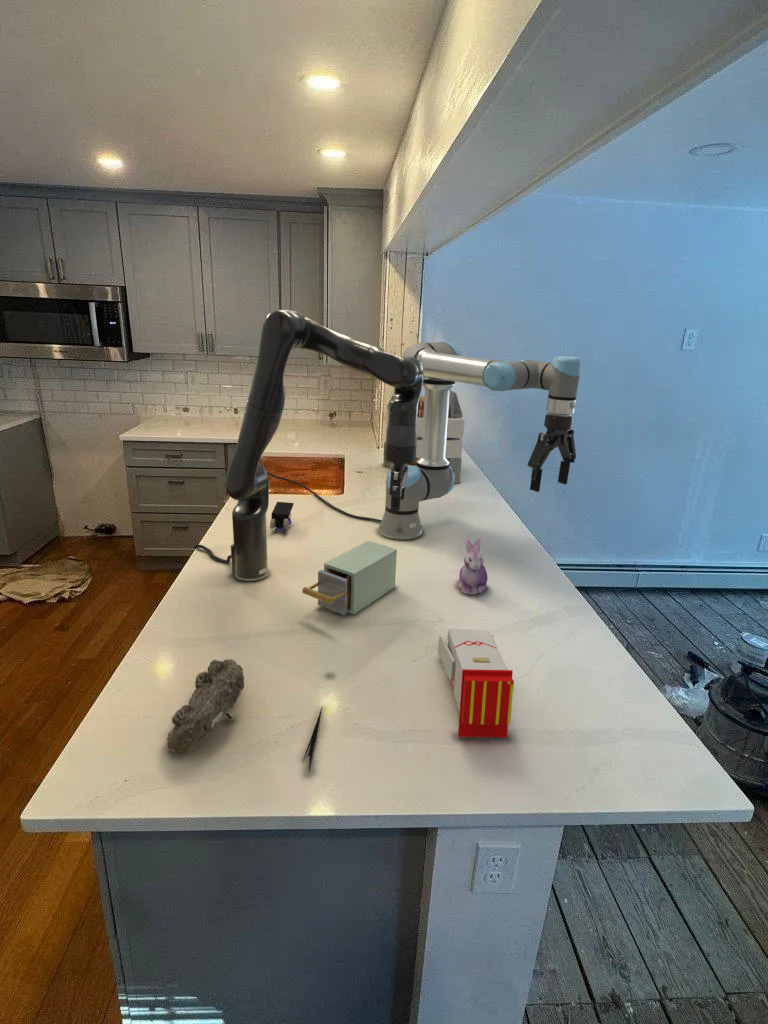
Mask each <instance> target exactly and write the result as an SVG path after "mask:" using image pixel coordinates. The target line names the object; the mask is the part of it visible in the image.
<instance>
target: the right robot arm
mask: <svg viewBox="0 0 768 1024" xmlns="http://www.w3.org/2000/svg"><path fill="white" fill-rule="evenodd" d="M407 356H412V357H415V358H417V359H418V360H419V361H420V362H421V364H422V367H423V384H422V387H423V388H424V396H423V397H424V416H423V434H422V452H421V457H420V458H419V459H418V460H417V466H413V465H408V468H409V470H408V478H407V481H406V485H404V486H405V496H404V499H403V500H400V509H399V510H398V511H396V510H391V496H392V495H390V494H389V492H390V480H391V469H390V468H389V470H388V472H387V474H386V479H385V504H384V505H385V507H384V508H385V509H384V513H383V515H382V519H379V518H374V517H368V516H360V515H356V514H353V513H349V512H346V511H344V510H343V509H341V508H338V507H336V506H334V505H333V504H331V503H330V502H328V501H327V500H325V499H324V498H323V497H321V496H320V495H319V494H318V493H316V492H315V491H313V490H312V489H311V488H309V487H308V486H305V485H304V484H302V483H299V482H297V481H295V480H292V479H289V478H286V477H282V476H278V475H276V474H273V473H270V472H268V471H266V472H267V474H268V476H270V477H271V478H272V477H273V478H275V479H278V480H283V481H286V482H289V483H292V484H295V485H297V486H299V487H300V488H303V489H305V490H307V491H308V492H309V493H311V494H312V495H313V496H315V497H317V499H319V500H320V501H321V502H323V503H324V504H325V505H326V506H328V507H330V508H332V509H333V510H335V511H337V512H339V513H340V514H343V515H346V516H347V517H350V518H354V519H360V520H365V521H372V522H375V523H376V522H377V523H379V526H378V533H379V534H380V535H381V536H382V537H385V538H387V539H389V540H395V541H410V540H415V539H418V538H420V537H421V536H422V535H423V525H422V524H421V518H420V515H419V507H420V506H419V505H420V502H423V501H428V500H433V499H440V498H442V497H443V496H444V497H445V496H446V495H448V494H449V493H450V492H451V491H452V490H453V488H454V485H455V483H454V482H455V475H454V473H453V472H452V471H453V470H452V468H451V467H450V466H449V461H448V460H447V459H446V458H445V456H446V441H447V427H448V413H449V398H450V390H452V389H453V387H454V386H455V385H456V383H463V384H467V385H474V386H479V387H486V388H488V389H489V390H490V391H493V392H505V391H513V390H514V391H515V390H527V389H537V390H544V391H548V395H547V400H546V401H547V402H546V407H545V412H546V413H545V415H544V423H543V427H545V429H546V431H545V433H544V432H539V433H538V435H537V436H538V437H537V440H536V443H535V445H534V448H533V450H532V452H531V455H530V457H529V459H528V462H527V467H529V468H531V476H530V477H531V478H530V486H529V490H530V491H533V492H537V493H539V492H540V490H541V483H542V475H543V469H542V467H543V465H544V464H545V462H546V461H547V459H548V457H549V455H550V453H551V452H552V451H554V449H556V448H558V450H559V453H560V456H561V458H562V460H561V461H560V464H559V470H558V477H557V478H558V479H557V483H559V484H563V485H568V480H569V474H570V468H571V464H574V463H575V461H576V459H577V453H576V445H575V438H574V436H575V429H572V428H573V422H574V416H573V415H574V414H575V408H576V402H577V395H578V389H579V384H580V378H581V371H582V370H581V369H582V360H581V359H580V358H579V357H575V356H564V355H563V356H561V355H560V356H559V355H557V356H555V357H554V358H553V360H552V362H546V361H539V360H534V359H520V360H517V361H504V360H495V359H488V358H487V359H486V358H480V357H474V356H473V357H472V356H465V355H463V353H462V351H461V350H460V348H459V347H458V346H457V345H456V344H454V343H451V342H445V341H441V342H440V341H439V342H438V341H436V342H415V343H413V344H410V345H409V346H408V347H406V349H405V350H404V351H403V354H402V356H401V357H407ZM394 491H396V487H394Z"/></svg>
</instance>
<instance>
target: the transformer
mask: <svg viewBox="0 0 768 1024" xmlns="http://www.w3.org/2000/svg"><path fill="white" fill-rule="evenodd" d="M393 396H394V393H393V394H392V395H391V398H390V400H389V402H388V404H387V405H386V413H385V414H386V415H385V423H386V428H385V434H386V433H387V427H388V416H389V404H390V401H391V400H392V398H393ZM424 397H425V396H420V398H419V403H418V419H417V448H416V460H415V461H414V462H413V463H409V464H408V465H413V466H417V460H418V459H419V458H420V457H421V452H422V434H423V416H424ZM464 429H465V419H464V418H463V411H462V408H461V405H460V402H459V398H458V395H457V392H455V391H453V390H452V389H450V398H449V413H448V427H447V441H446V456H445V458H446V459H447V460H448V461H449V466H450V467H451V468H452V470H453V471H452V472H453V473H454V475H455V482H454V484H455V483H456V484H459V483H461V472H462V461H463V460H462V453H463V442H464V441H463V440H462V439H463V438H464V431H465V430H464ZM385 452H386V437H385V438H384V442H383V466H384V467H388V468H389V470H390V469H391V468H392V467H393V466H394V463H392V462H389V461H387V460H386V459H385Z"/></svg>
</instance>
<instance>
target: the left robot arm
mask: <svg viewBox="0 0 768 1024" xmlns="http://www.w3.org/2000/svg"><path fill="white" fill-rule="evenodd" d="M261 328H262V329H261V334H260V339H259V340H260V342H259V348H258V355H257V360H256V366H255V370H254V375H253V377H252V383H251V386H250V391H249V394H248V397H247V401H246V405H245V408H244V414H243V418H242V422H241V427H240V430H239V434H238V439H237V443H236V447H235V449H234V451H233V452H234V453H233V455H232V458H231V460H230V463H229V467H227V471H226V473H225V478H224V486H225V490H226V493H227V494H228V496H229V497H230V498H231V499H232V500H234V501H237V502H236V505H235V506H234V507H233V510H232V512H231V519H232V520H231V521H232V536H233V538H232V539H233V540H232V541H233V544H231V545H230V554H229V555H227V556H226V559H223V558H220V557H218V556H217V555H215V554H214V552H213V551H212V550H211V549H210V548H208V547H207V546H205V545H203V544H196V545H195V546H194V547H193V549H195V550H197V549H202V550H204V551H205V552H207V553H208V554H209V556H210V557H211V558H212V559H213V560H215V561H217V562H220V563H223V564H230V563H231V576H232V577H235V578H236V579H237V580H238V581H242V582H257V581H260V580H263V579H265V578H266V577H267V576H268V575H269V569H268V540H267V539H268V538H267V536H268V535H267V513H268V509H269V505H270V504H269V503H270V481H269V475H268V474H267V472H268V471H267V469H266V468H265V466H263V464H261V463H260V461H261V458H262V456H263V454H264V452H265V451H266V449H267V447H268V446H269V444H270V443H271V441H272V439H273V438H274V436H275V434H276V433H277V431H278V429H279V426H280V423H281V419H282V416H283V413H284V409H285V404H286V392H285V384H284V376H285V370H286V366H287V362H288V359H289V356H290V354H291V351H292V350H296V349H302V350H307V351H312V352H316V353H320V354H322V355H325V356H326V357H328V358H330V359H331V360H333V361H335V362H337V363H338V364H339V365H342V366H344V367H346V368H348V369H350V370H352V371H353V370H354V371H356V372H359V373H362V374H365V375H367V376H371V377H373V378H374V379H376V380H378V381H380V382H382V383H384V384H386V385H388V386H389V387H392V388H394V390H393V394H394V396H393V395H392V396H393V398H392V397H391V398H392V400H391V399H390V400H391V401H390V400H389V401H390V404H389V416H388V427H387V433H386V432H385V438H386V441H385V442H386V452H385V459H386V460H387V461H389V462H392V463H394V466H393V467H392V468H391V480H390V492H389V494H390V495H392V496H391V510H396V511H398V510H399V509H400V500H403V499H404V496H405V486H404V485H406V481H407V478H408V470H409V468H408V464H409V463H413V462H414V461H415V460H416V448H417V419H418V403H419V398H420V397H421V393H422V389H423V385H422V384H423V367H422V364H421V362H420V361H419V360H418V359H417V358H415V357H412V356H407V357H402V356H399V355H396V354H392V353H390V352H387V351H385V349H383V348H382V347H381V346H378V345H375V344H373V343H370V342H368V341H365V340H362V339H359V338H356V337H352V336H349V335H347V334H344V333H340V332H337V331H335V330H333V329H331V328H328V327H326V326H324V325H322V324H320V323H318V322H317V321H314V320H313V319H311V318H310V317H307V316H306V315H305V314H303V313H301V312H299V311H297V310H294V309H276V310H273V311H271V312H270V313H269V314H268V315H267V316H266V317H265V319H264V321H263V324H262V327H261ZM394 487H396V491H394Z"/></svg>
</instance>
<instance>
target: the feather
mask: <svg viewBox="0 0 768 1024" xmlns="http://www.w3.org/2000/svg"><path fill="white" fill-rule="evenodd" d="M329 675H330V676H331V675H332V674H331V673H330V674H329ZM322 710H323V707H321V708H320V710H319V713H318V716H317V719H316V723H315V725H314V728H313V731H312V733H311V737H310V739H309V742H308V745H307V748H306V751H305V754H304V757H303V760H302V763H301V767H302V765H303V763H304V761H305V758H308V759H309V760H308V762H307V763H308V764H307V766H308V771H310V770H311V766H312V765H311V764H312V760H313V757H315V756H314V755H315V751H316V749H315V746H317V739H318V733H319V729H320V722H321V717H322V712H323V711H322ZM313 754H314V755H313ZM306 755H307V757H306Z"/></svg>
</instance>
